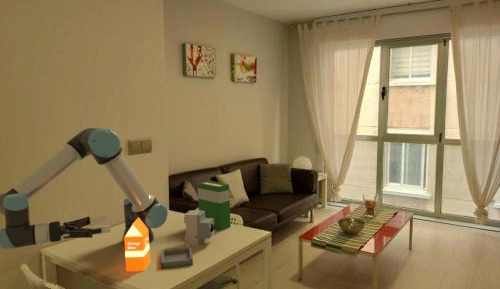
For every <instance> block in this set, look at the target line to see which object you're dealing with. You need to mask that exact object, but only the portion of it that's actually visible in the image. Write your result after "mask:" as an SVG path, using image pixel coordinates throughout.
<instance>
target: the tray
mask: <svg viewBox="0 0 500 289" xmlns="http://www.w3.org/2000/svg"><path fill="white" fill-rule="evenodd" d="M160 261H161V262H160V266H161V268H160V269H163V270H164V269H171V268H180V267H187V266H193V265H194V261H193V251H192V247H191V246H187V247H180V248H169V249H168V248H167V249H162V250H161V260H160Z"/></svg>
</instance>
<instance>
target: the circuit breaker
mask: <svg viewBox="0 0 500 289" xmlns="http://www.w3.org/2000/svg"><path fill="white" fill-rule="evenodd" d="M183 221H184V222H183V223H184V224H185V231H186V234H184V243H185V244H189V245H188V246H200V245H201V246H202V245H203V244H204V243H205V242H206V241H207V239H210V238H212V236H213V235H214V234H215V230H216V229H215V228H216V226H214V218H205V211H199V210H189V211H187V212H186V213H184V216H183ZM185 244H184V245H185Z"/></svg>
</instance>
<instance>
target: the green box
mask: <svg viewBox="0 0 500 289" xmlns="http://www.w3.org/2000/svg"><path fill="white" fill-rule="evenodd" d="M197 199H198V200H197V202H198V204H197V205H198V211H205V218H214V226H216V228H215V229H214V230H217V231H220V232H221V231H224V230H227V229H229V228H231V206H230V204H231V203H230V184H229V183H223V182H217V181H212V180H205V182H197Z"/></svg>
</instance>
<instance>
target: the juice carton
mask: <svg viewBox="0 0 500 289" xmlns="http://www.w3.org/2000/svg"><path fill="white" fill-rule="evenodd" d="M124 242H125V245H124V252H125V253H124V255H125V256H124V257H125V266H126V272H139V271H141V272H143V271H144V272H145V271H146V269H147V268H148V266H149V264H150V263H151V253H150V252H151V250H150V243H149V233H148V228H147V227H146V226H145V225H144V223H143V222H142V221H141V220H140V218H138V219H137V220H136V221H135V222H134V223H133V225H132V226H131V228H130V229H129V231H128V232H127V234H126V236H125V237H124Z"/></svg>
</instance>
